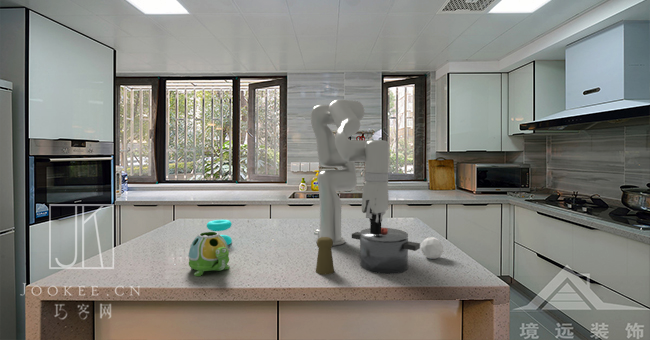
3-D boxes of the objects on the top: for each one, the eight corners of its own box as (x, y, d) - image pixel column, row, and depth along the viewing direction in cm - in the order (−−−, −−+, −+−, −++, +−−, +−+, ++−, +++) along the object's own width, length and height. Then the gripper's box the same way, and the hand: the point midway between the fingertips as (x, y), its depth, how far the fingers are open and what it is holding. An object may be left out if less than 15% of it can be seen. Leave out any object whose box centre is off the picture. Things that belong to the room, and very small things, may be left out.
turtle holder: (204, 285, 88) (203, 244, 87) (182, 268, 101) (182, 233, 101) (243, 274, 96) (242, 236, 96) (218, 260, 110) (218, 227, 109)
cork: (332, 275, 95) (332, 240, 95) (313, 273, 96) (313, 239, 96) (335, 268, 101) (335, 235, 101) (317, 267, 102) (317, 234, 102)
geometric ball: (427, 263, 114) (422, 243, 118) (448, 259, 110) (442, 238, 115) (420, 258, 108) (415, 237, 113) (442, 253, 105) (437, 231, 109)
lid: (351, 236, 103) (351, 229, 103) (375, 228, 115) (375, 221, 115) (394, 245, 92) (394, 236, 92) (415, 235, 105) (415, 227, 105)
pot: (341, 263, 106) (341, 235, 105) (366, 252, 118) (366, 227, 118) (406, 281, 90) (406, 248, 90) (426, 266, 103) (427, 237, 102)
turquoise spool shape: (201, 222, 127) (221, 218, 136) (201, 245, 128) (221, 240, 136) (217, 224, 122) (236, 220, 130) (217, 249, 122) (236, 243, 131)
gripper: (377, 176, 107) (377, 227, 108) (354, 178, 96) (353, 236, 97) (397, 177, 103) (396, 231, 104) (374, 180, 91) (374, 240, 92)
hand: (375, 233), depth 100 cm, fingers closed
